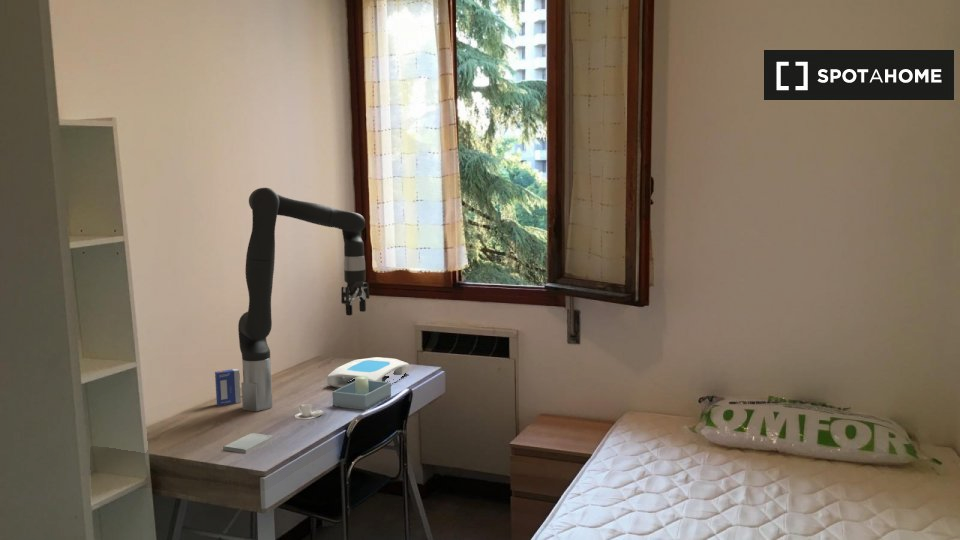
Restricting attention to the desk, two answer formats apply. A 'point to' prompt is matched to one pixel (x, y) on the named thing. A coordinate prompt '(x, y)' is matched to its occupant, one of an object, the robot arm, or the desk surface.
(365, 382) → the mint green capsule
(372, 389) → the bin
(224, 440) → the desk surface
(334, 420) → the desk surface
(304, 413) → the teacup and saucer
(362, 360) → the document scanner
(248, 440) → the hard drive
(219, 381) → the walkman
